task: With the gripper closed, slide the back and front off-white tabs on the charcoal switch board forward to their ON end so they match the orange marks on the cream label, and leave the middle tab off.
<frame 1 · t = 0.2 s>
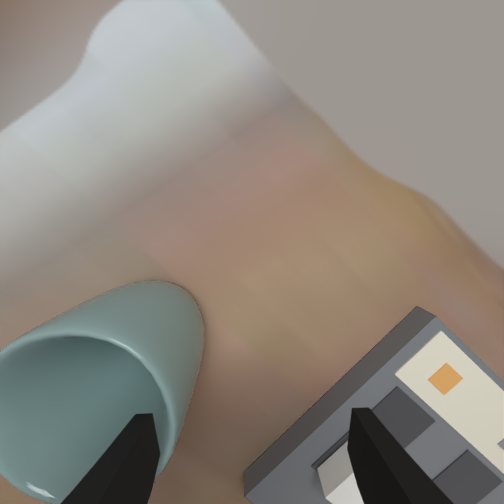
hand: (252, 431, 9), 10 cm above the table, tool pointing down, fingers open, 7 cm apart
switch tab 3: (355, 480, 18), point 3 cm above the table, slide at -2.5 cm
switch board: (423, 475, 22), on the table
cup: (163, 316, 20), on the table
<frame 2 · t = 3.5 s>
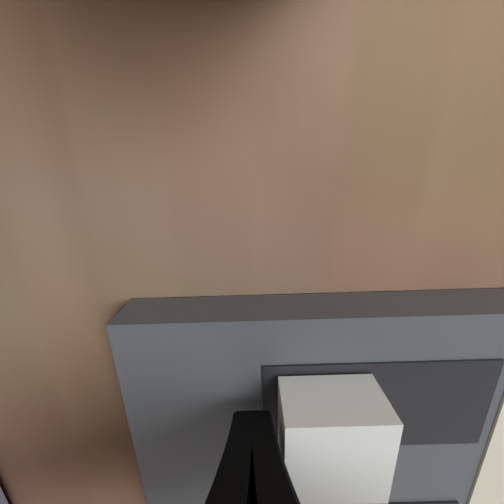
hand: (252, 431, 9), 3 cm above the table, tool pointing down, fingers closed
switch tab 3: (330, 436, 9), point 3 cm above the table, slide at -2.2 cm, touching gripper
switch board: (342, 483, 14), on the table
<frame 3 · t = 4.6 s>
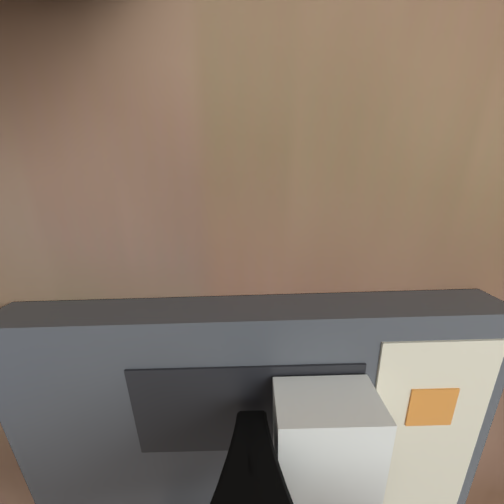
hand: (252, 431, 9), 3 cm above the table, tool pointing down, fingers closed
switch tab 3: (324, 437, 9), point 3 cm above the table, slide at 2.8 cm, touching gripper
switch board: (252, 486, 14), on the table
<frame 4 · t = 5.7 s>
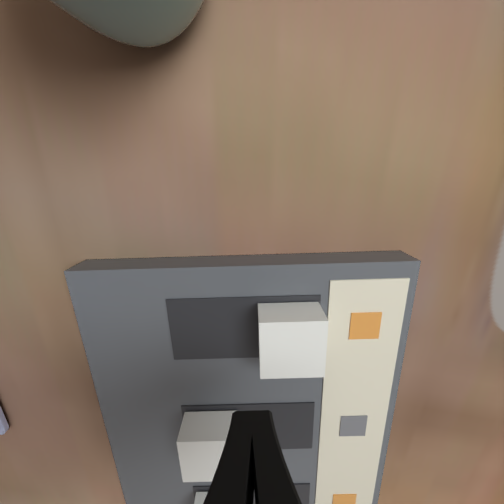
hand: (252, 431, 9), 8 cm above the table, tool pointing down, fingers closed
switch tab 3: (290, 339, 14), point 3 cm above the table, slide at 2.6 cm
switch board: (248, 402, 19), on the table
switch tab 2: (210, 445, 16), point 3 cm above the table, slide at -2.5 cm
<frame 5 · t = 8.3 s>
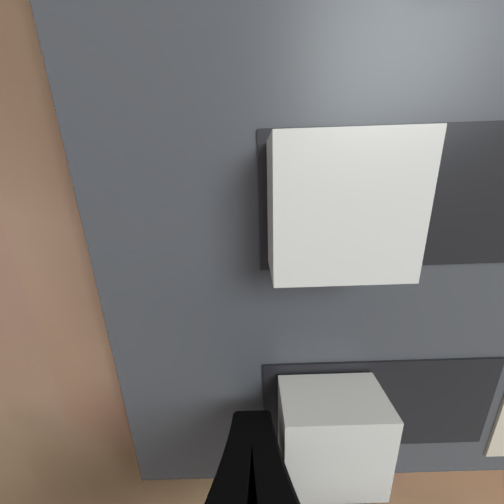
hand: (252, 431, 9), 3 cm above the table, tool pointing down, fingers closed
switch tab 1: (330, 435, 9), point 3 cm above the table, slide at -2.2 cm, touching gripper
switch board: (375, 194, 10), on the table
switch tab 2: (337, 207, 6), point 3 cm above the table, slide at -2.5 cm
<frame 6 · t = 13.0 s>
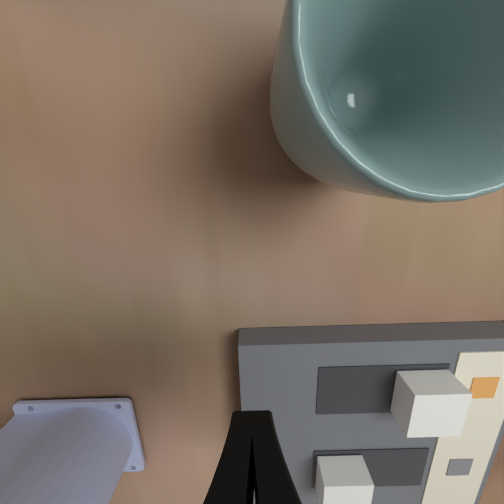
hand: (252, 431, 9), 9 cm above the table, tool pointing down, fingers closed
switch tab 3: (427, 402, 17), point 3 cm above the table, slide at 2.6 cm
switch board: (358, 442, 22), on the table
cup: (330, 117, 15), on the table
switch tab 2: (342, 486, 19), point 3 cm above the table, slide at -2.5 cm
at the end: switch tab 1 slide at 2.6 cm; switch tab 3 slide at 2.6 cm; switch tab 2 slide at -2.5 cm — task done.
